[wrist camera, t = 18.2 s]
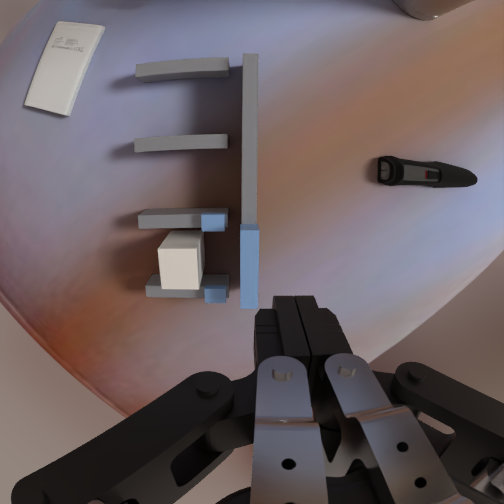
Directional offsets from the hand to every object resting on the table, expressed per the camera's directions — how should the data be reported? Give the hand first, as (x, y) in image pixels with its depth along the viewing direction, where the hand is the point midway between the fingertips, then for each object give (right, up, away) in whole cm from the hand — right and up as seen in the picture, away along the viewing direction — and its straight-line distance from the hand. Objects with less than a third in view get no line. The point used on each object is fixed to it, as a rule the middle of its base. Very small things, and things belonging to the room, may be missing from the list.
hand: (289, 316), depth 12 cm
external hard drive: (-26, +27, +18) cm, 41 cm away
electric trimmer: (+22, +13, +25) cm, 35 cm away
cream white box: (-9, +3, +26) cm, 28 cm away
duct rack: (-8, +11, +24) cm, 27 cm away
